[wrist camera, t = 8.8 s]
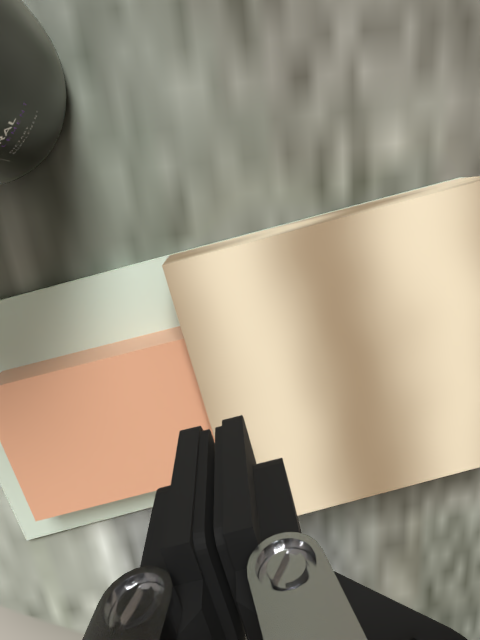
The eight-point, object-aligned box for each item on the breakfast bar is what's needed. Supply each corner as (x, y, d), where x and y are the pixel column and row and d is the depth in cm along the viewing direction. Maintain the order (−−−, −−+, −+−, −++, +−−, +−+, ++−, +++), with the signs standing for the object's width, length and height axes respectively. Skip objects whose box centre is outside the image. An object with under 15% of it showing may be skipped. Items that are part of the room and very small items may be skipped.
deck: (458, 178, 18) (508, 173, 15) (486, 418, 21) (532, 453, 18) (169, 255, 18) (161, 265, 15) (237, 484, 21) (242, 530, 18)
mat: (459, 177, 18) (463, 177, 18) (486, 413, 21) (490, 417, 21) (-73, 319, 18) (-77, 320, 18) (29, 535, 21) (26, 540, 21)
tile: (187, 323, 18) (185, 338, 16) (223, 447, 20) (224, 473, 18) (1, 371, 18) (-22, 390, 16) (52, 490, 20) (35, 521, 18)
